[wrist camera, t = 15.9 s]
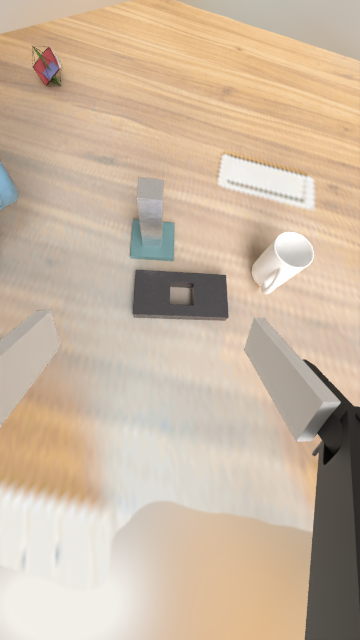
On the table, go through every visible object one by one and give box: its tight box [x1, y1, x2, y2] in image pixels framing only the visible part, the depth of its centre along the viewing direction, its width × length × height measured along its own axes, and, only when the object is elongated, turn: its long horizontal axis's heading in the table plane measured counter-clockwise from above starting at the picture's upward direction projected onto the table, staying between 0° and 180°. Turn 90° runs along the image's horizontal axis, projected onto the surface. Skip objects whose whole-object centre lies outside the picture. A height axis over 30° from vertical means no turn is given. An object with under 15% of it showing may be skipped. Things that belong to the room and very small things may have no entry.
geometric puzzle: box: [32, 46, 62, 86], centre depth 54 cm, size 7×7×8 cm
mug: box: [251, 232, 314, 294], centre depth 42 cm, size 12×8×10 cm
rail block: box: [133, 270, 228, 321], centre depth 42 cm, size 20×10×2 cm, turn 90°
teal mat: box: [130, 219, 174, 261], centre depth 46 cm, size 10×10×1 cm
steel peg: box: [137, 177, 164, 247], centre depth 39 cm, size 4×4×13 cm
